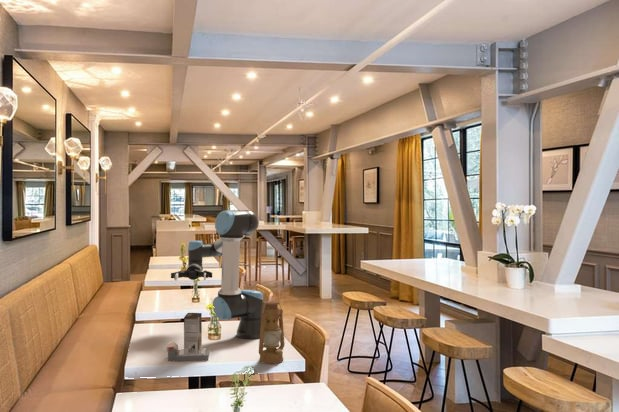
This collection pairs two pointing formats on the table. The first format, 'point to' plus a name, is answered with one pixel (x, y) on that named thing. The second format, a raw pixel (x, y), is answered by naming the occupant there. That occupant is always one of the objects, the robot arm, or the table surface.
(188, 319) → the coffee box
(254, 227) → the robot arm
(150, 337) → the table surface
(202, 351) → the scale plate
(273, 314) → the lantern
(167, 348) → the scale
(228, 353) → the table surface
